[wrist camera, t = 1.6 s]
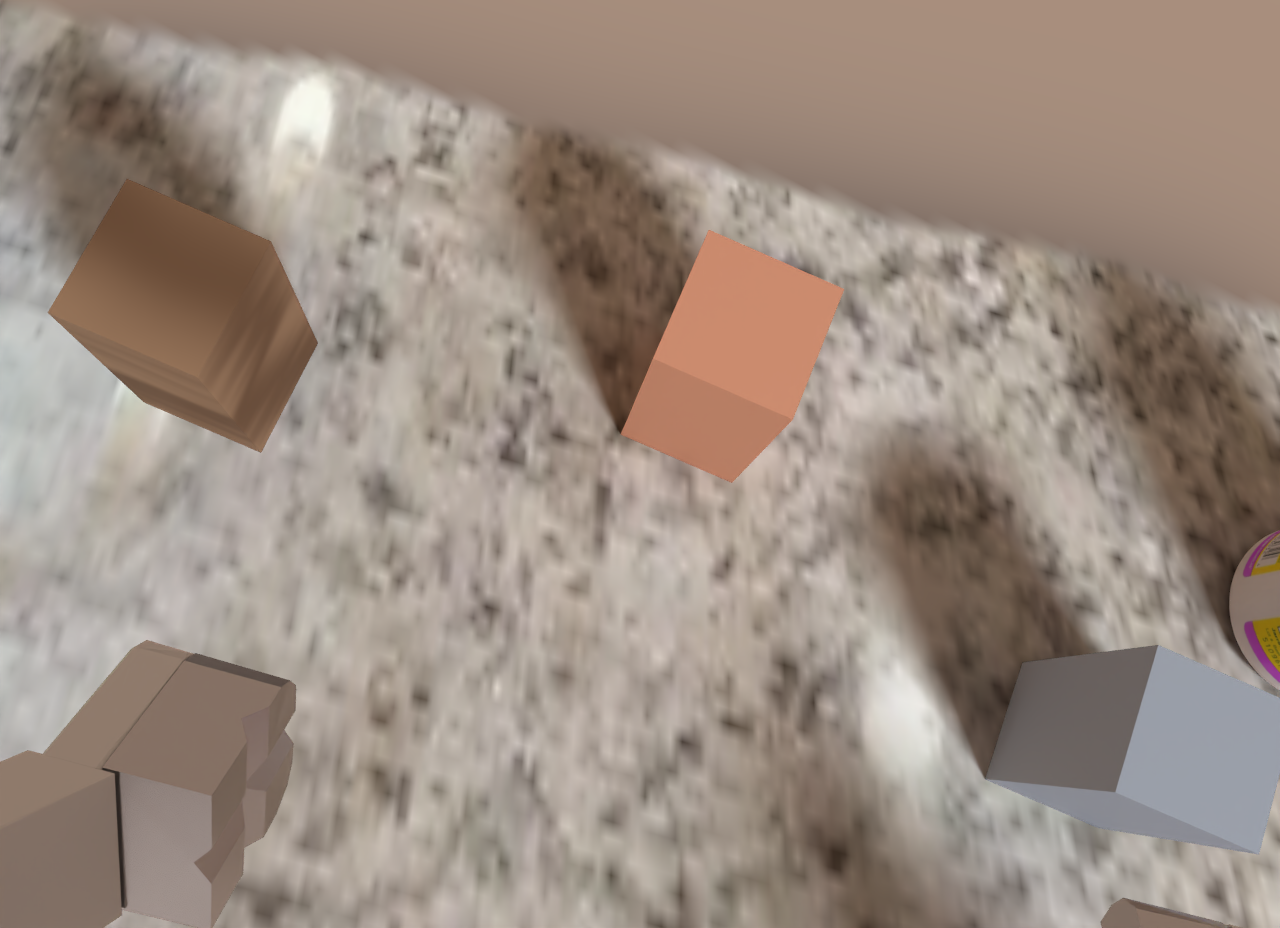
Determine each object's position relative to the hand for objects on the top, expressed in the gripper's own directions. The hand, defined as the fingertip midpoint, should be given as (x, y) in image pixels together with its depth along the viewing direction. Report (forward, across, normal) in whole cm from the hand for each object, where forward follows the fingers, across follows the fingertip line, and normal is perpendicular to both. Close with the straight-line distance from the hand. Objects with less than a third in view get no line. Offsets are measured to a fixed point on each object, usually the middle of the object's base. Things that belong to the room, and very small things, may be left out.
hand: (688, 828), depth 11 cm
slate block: (+25, -15, +18) cm, 34 cm away
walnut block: (+27, +17, +13) cm, 34 cm away
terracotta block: (+30, +1, +11) cm, 32 cm away
